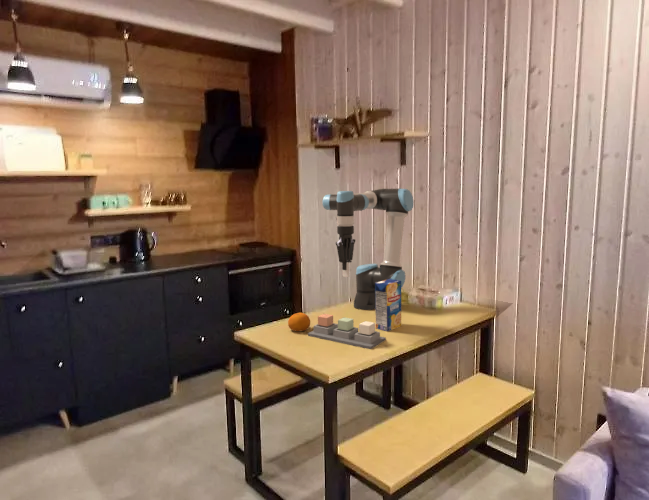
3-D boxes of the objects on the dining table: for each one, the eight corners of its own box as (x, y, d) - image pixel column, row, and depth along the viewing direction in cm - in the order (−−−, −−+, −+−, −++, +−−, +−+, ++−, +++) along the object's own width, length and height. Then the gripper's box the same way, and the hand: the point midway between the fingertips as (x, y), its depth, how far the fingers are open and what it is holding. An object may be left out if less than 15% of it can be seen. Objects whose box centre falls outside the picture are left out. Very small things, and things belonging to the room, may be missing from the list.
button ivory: (365, 329, 214) (365, 321, 213) (375, 331, 211) (375, 322, 211) (359, 333, 210) (359, 324, 209) (369, 335, 207) (369, 326, 207)
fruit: (286, 327, 235) (286, 311, 233) (308, 325, 237) (307, 309, 235) (289, 334, 225) (289, 317, 223) (312, 332, 227) (311, 315, 225)
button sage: (344, 325, 220) (344, 317, 220) (353, 327, 218) (353, 318, 217) (338, 328, 216) (337, 320, 216) (347, 330, 214) (347, 321, 213)
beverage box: (375, 328, 230) (375, 282, 226) (389, 323, 237) (389, 278, 234) (387, 331, 225) (386, 285, 221) (401, 325, 232) (401, 280, 229)
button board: (324, 327, 233) (324, 319, 232) (385, 340, 213) (385, 331, 213) (307, 335, 222) (307, 326, 221) (370, 349, 203) (370, 339, 202)
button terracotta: (324, 322, 227) (324, 313, 226) (333, 323, 224) (333, 315, 223) (318, 324, 223) (317, 316, 222) (327, 326, 220) (326, 318, 219)
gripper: (346, 223, 228) (347, 273, 231) (330, 226, 218) (331, 278, 221) (360, 224, 224) (360, 275, 227) (344, 227, 213) (344, 279, 217)
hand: (346, 276), depth 224 cm, fingers closed
